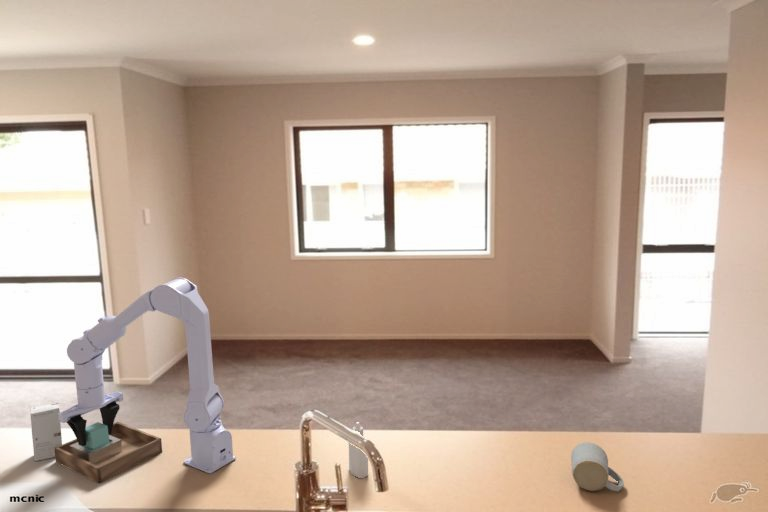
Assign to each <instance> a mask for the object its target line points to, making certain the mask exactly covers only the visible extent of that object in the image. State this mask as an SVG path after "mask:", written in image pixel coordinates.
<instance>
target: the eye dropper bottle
mask: <svg viewBox="0 0 768 512" xmlns="http://www.w3.org/2000/svg"><path fill="white" fill-rule="evenodd" d="M352 430H355V431H358V432H360V434H361V435H362V436H363V437H364V428H363V426H361V424H360V422H359V421H356V423H355V425H354V426H353V427H352ZM352 430H351V431H352ZM348 469H349V472H350V474H352V476H354V477H355V476H356V477H355V478H357V477H358V479H363V478H367V477H368V476H369V457H368V458H367V457H366V455H365V454H364V453H363V452H362V451H361V450H360V449H358V448H356V447H355V446H353V445H351V444H350V443H349V442H348Z"/></svg>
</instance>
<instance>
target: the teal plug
mask: <svg viewBox="0 0 768 512" xmlns="http://www.w3.org/2000/svg"><path fill="white" fill-rule="evenodd" d="M85 433H86V445H85V446H84V448H86V449H88V450H93V449H96V448H98V447H100V446H102V445H105V444H107V443H109V434H108V426H107V425H104V424H103V423H102V422H99V421H97V422H94V423H93V424H90V425H88V426H86V431H85Z"/></svg>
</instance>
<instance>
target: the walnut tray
mask: <svg viewBox="0 0 768 512" xmlns="http://www.w3.org/2000/svg"><path fill="white" fill-rule="evenodd" d="M111 436H113V437H116V438H118V439H120V440H121V444H122V452H120V453H118V454H115V455H113V456H111V457H109V458H107V459H105V460H103V461H100V462H98V463H96V464H92V463H90V462H88V461H86V460H84V459H81V458H79V457H77V456H75V455H73V454H71V453H70V445H72V444H75V443H77V442H78V441H77V438H75V439H73V440H70V441H68V442H66V443H64V444H63V443H62V445H60V446H58V447H56V448H54V449H55V463H57V462H58V464H59V463H60V465H61V464H63V465H64V466H63V465H62V466H63V467H65V466H66V468H67V467H68V468H67V469H69V468H70V470H71V469H72V472H73V471H74V472H76V473H78V474H80V475H81V476H83V477H86V478H87V479H90V480H91V481H94V482H95V483H97V484H101V483H103V482H104V481H105V482H106V481H107V480H109V479H110V478H113V477H114V476H117V475H119V474H121V473H123V472H124V471H125V472H126V471H127V470H129V469H131V468H133V467H135V466H137V465H138V464H141V463H144V462H145V461H147V460H149V459H151V458H153V457H155V456H156V455H160V454H161V453H163V446H162V445H163V443H162V442H163V441H162V438H160V437H159V436H156V435H154V434H151V433H148V432H146V431H142V430H140V429H138V428H135V427H132V426H130V425H127V424H124V423H121V422H119V421H117V422H114V423H113V427H112V433H111Z"/></svg>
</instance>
